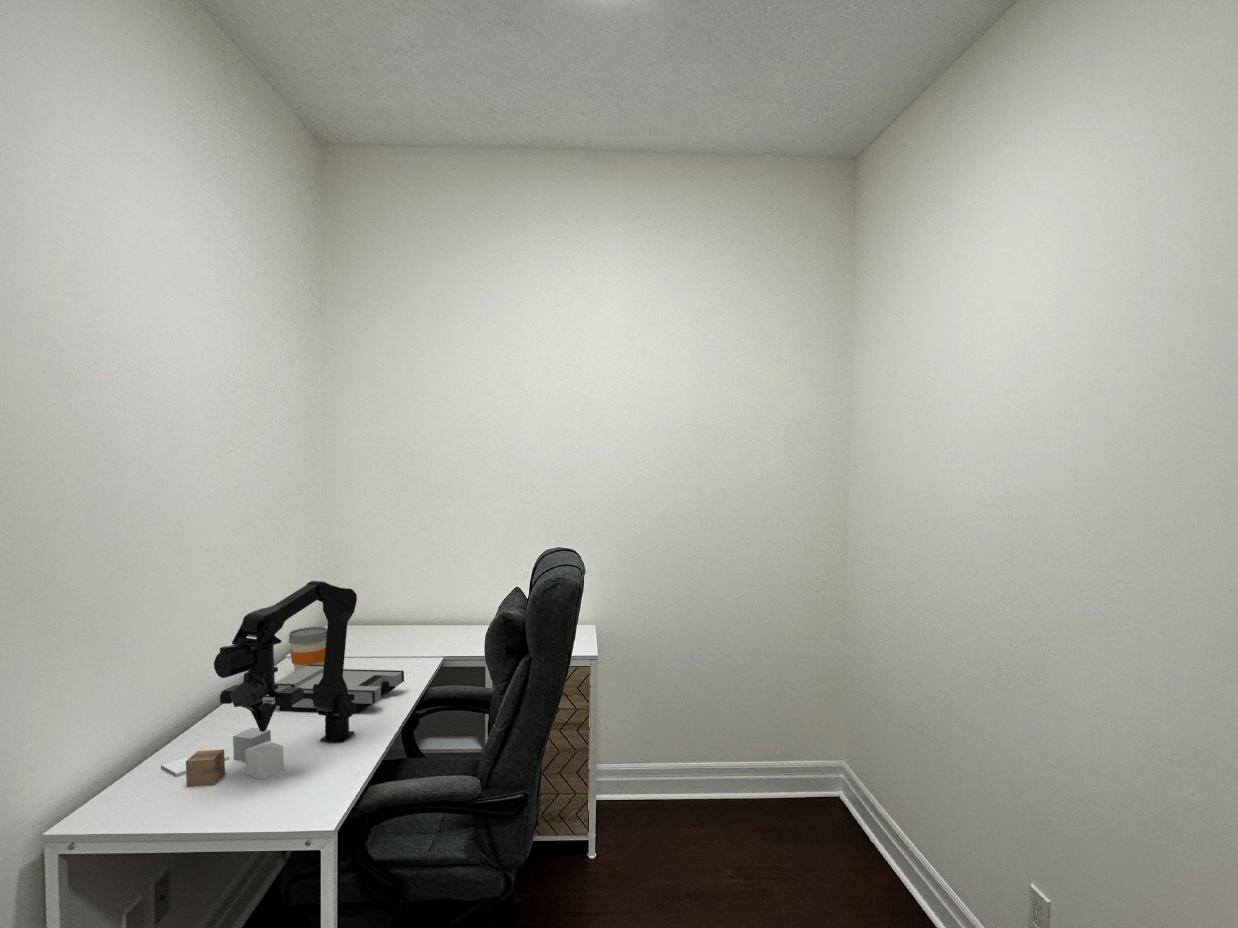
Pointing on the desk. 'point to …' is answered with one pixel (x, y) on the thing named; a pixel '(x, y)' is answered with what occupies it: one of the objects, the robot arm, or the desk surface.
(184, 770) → the external hard drive
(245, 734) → the slate-grey block
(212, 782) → the walnut block
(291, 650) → the reusable coffee cup
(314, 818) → the desk surface
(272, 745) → the off-white cube
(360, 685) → the game console
